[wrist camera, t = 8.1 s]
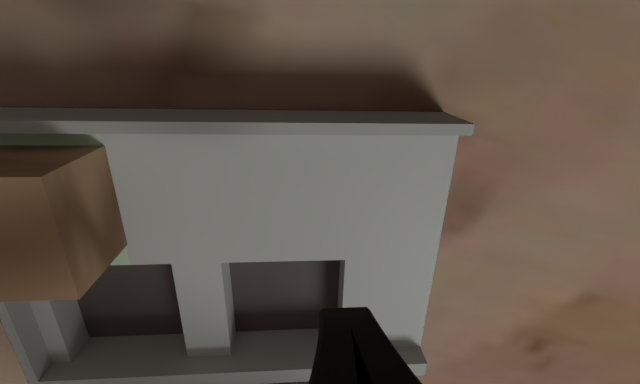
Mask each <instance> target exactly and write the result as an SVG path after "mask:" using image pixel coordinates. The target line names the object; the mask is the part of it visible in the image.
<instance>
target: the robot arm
mask: <svg viewBox="0 0 640 384" xmlns="http://www.w3.org/2000/svg"><path fill="white" fill-rule="evenodd" d="M309 384H422V383H421V382H420V381H419V380H418V378H417V377H416V376H415V374H414V373H413V372H412V370H411V369H410V368H409V366H408V365H407V364H406V362H405V361H404V360H403V358H402V357H401V356H400V354H399V353H398V352H397V350H396V349H395V347H394V346H393V345H392V343H391V342H390V340H389V339H388V337H387V336H386V334H385V333H384V331H383V330H382V328H381V327H380V325H379V324H378V322H377V321H376V319H375V317H374V316H373V314H372V312H371V311H370V309H368V308H367V307H347V308H323V309H322V310H321V311H319V330H318V342H317V348H316V353H315V358H314V362H313V367H312V371H311V376H310V380H309Z"/></svg>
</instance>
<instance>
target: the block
mask: <svg viewBox="0 0 640 384" xmlns="http://www.w3.org/2000/svg"><path fill="white" fill-rule="evenodd" d="M126 246H127V240H126V235H125V231H124V227H123V222H122V218H121V214H120V209H119V205H118V201H117V196H116V192H115V188H114V183H113V179H112V175H111V170H110V166H109V162H108V157H107V153H106V149H105V146H67V145H0V302H11V301H46V300H80V299H81V297H82V296H83V295H84V294H85V293H86V292H87V290H88V289H89V288H90V287H91V286H92V285H93V284H94V282H95V281H96V280H97V279H98V278H99V277H100V276H101V274H102V273H103V272H104V271H105V270H106V269H107V267H108V266H109V265H110V264H111V263H112V262H113V261H114V259H115V258H116V257H117V256H118V255H119V254H120V252H121V251H122V250H123V249H124V248H125V247H126Z"/></svg>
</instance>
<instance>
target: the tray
mask: <svg viewBox="0 0 640 384" xmlns="http://www.w3.org/2000/svg"><path fill="white" fill-rule="evenodd" d="M474 127H475V124H473V123H471V122H468V121H466V120H463V119H461V118H458V117H456V116H453V115H451V114H448V113H445V112H409V111H314V110H219V109H125V108H30V107H0V145H67V146H105V149H106V153H107V157H108V162H109V166H110V170H111V175H112V179H113V183H114V188H115V192H116V196H117V201H118V205H119V209H120V214H121V218H122V222H123V227H124V231H125V235H126V240H127V246H126V247H125V248H124V249H123V250H122V251H121V252H120V254H119V255H118V256H117V257H116V258H115V259H114V261H113V262H112V263H111V264H110V265H109V266H108V267H107V269H106V270H105V271H104V272H103V273H102V274H101V276H100V277H99V278H98V279H97V280H96V281H95V282H94V284H93V285H92V286H91V287H90V288H89V289H88V290H87V292H86V293H85V294H84V295H83V296H82V297H81V299H80V300H46V301H11V302H0V320H1V323H2V325H3V327H4V329H5V332H6V334H7V336H8V338H9V341H10V343H11V345H12V347H13V350H14V352H15V354H16V356H17V358H18V361H19V363H20V365H21V367H22V370H23V372H24V374H25V376H26V379H27V381H28V383H29V384H268V383H288V382H308V381H309V380H310V376H311V371H312V367H313V362H314V358H315V353H316V348H317V342H318V330H319V311H321V310H322V309H323V308H347V307H367V308H368V309H370V311H371V312H372V314H373V316H374V317H375V319H376V321H377V322H378V324H379V325H380V327H381V328H382V330H383V331H384V333H385V334H386V336H387V337H388V339H389V340H390V342H391V343H392V345H393V346H394V347H395V349H396V350H397V352H398V353H399V354H400V356H401V357H402V358H403V360H404V361H405V362H406V364H407V365H408V366H409V368H410V369H411V370H412V372H413V373H414V374H415V376H425V372H426V367H427V362H426V360H425V357H424V355H423V353H422V350H421V348H420V345H421V339H422V334H423V328H424V323H425V317H426V312H427V307H428V301H429V296H430V290H431V285H432V279H433V274H434V268H435V263H436V258H437V252H438V247H439V241H440V236H441V230H442V225H443V220H444V214H445V209H446V203H447V198H448V192H449V187H450V181H451V176H452V171H453V165H454V160H455V154H456V149H457V143H458V138H459V136H473V132H474Z"/></svg>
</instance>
